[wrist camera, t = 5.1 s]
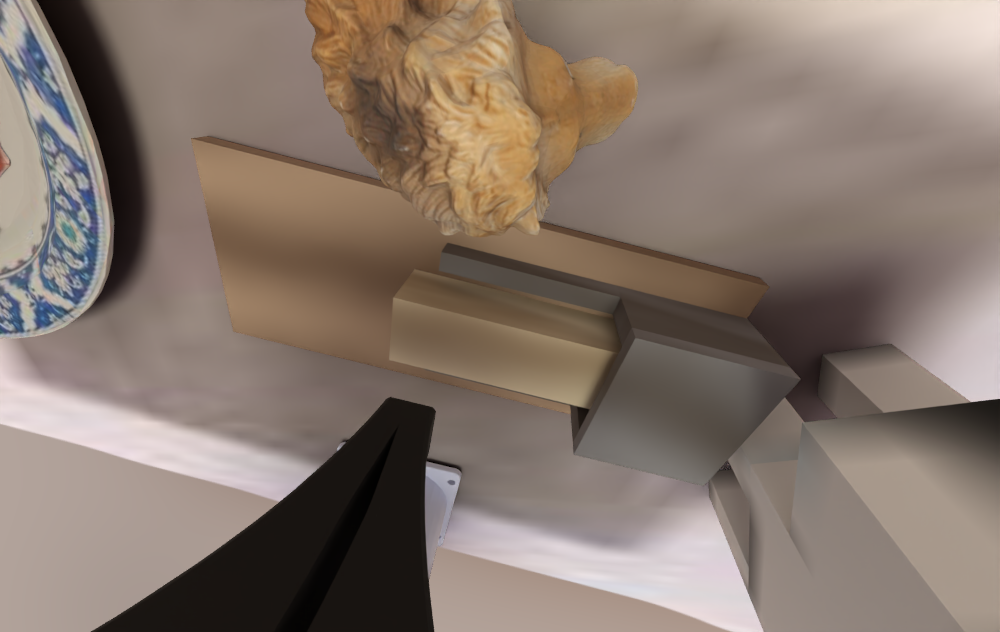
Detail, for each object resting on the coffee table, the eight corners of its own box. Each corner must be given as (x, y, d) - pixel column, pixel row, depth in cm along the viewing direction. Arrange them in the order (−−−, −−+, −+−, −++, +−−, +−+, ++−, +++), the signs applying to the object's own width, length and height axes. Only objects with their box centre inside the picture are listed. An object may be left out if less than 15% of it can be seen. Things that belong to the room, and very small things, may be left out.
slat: (657, 387, 17) (672, 429, 15) (409, 326, 17) (388, 359, 15) (688, 337, 15) (710, 376, 13) (414, 269, 15) (393, 297, 13)
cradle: (658, 424, 19) (686, 505, 16) (244, 323, 19) (167, 380, 15) (759, 277, 15) (834, 342, 11) (208, 136, 14) (81, 152, 10)
